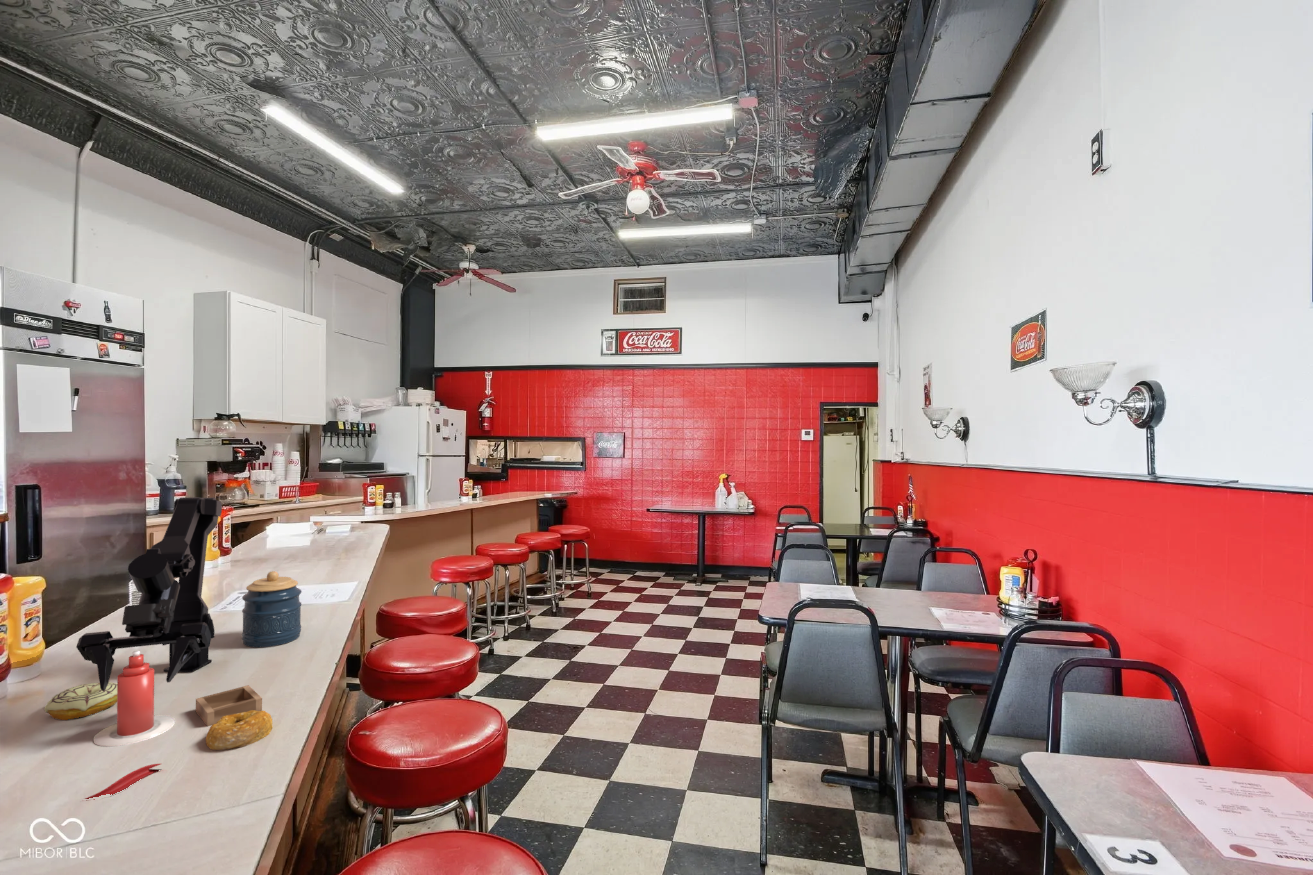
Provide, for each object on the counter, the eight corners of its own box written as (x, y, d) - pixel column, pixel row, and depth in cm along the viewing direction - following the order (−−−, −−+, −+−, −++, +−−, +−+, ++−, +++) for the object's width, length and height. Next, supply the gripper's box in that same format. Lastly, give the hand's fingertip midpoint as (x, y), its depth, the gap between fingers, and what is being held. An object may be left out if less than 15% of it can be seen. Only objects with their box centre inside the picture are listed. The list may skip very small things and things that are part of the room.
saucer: (75, 748, 103) (75, 744, 103) (131, 718, 114) (131, 714, 114) (139, 750, 103) (139, 745, 103) (190, 719, 114) (190, 715, 114)
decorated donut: (29, 723, 112) (29, 702, 112) (80, 697, 123) (80, 679, 123) (89, 721, 113) (89, 701, 113) (134, 696, 124) (134, 678, 124)
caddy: (195, 714, 116) (195, 698, 116) (248, 699, 123) (248, 685, 123) (207, 729, 111) (207, 712, 110) (261, 713, 117) (262, 697, 117)
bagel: (278, 720, 115) (278, 695, 114) (266, 749, 104) (266, 722, 104) (215, 730, 111) (214, 704, 111) (196, 761, 101) (196, 733, 100)
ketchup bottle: (110, 732, 107) (111, 653, 107) (144, 719, 112) (144, 645, 112) (126, 738, 105) (127, 658, 105) (160, 725, 110) (160, 649, 110)
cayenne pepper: (79, 810, 88) (80, 797, 88) (72, 798, 90) (72, 785, 90) (181, 774, 97) (182, 762, 97) (172, 764, 100) (172, 752, 100)
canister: (306, 629, 166) (306, 564, 166) (294, 645, 154) (295, 575, 153) (250, 633, 162) (251, 567, 162) (234, 650, 150) (234, 578, 149)
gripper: (81, 589, 109) (51, 673, 99) (207, 580, 117) (191, 657, 107) (99, 620, 117) (72, 701, 107) (217, 609, 124) (202, 684, 114)
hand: (135, 685), depth 109 cm, fingers open, 9 cm apart
